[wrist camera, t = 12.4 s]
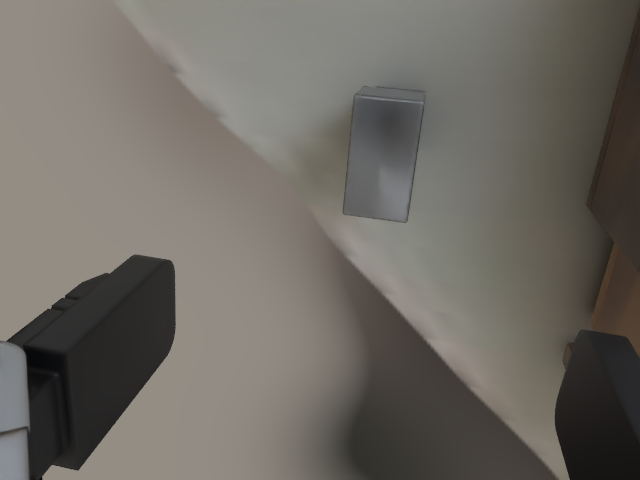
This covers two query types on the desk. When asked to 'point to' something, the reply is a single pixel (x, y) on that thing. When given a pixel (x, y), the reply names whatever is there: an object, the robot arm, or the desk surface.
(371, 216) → the tall brushed metal prism
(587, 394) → the robot arm
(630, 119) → the cabinet
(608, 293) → the drawer
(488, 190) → the desk surface
